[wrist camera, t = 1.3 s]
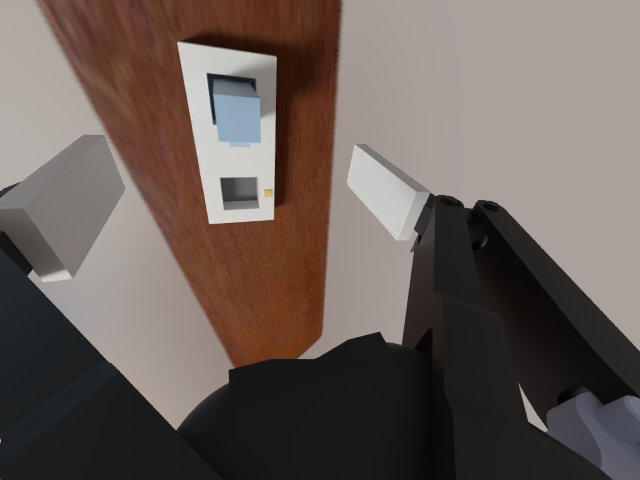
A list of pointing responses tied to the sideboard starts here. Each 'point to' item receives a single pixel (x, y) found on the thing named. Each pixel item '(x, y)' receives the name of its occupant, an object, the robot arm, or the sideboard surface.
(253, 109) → the plug
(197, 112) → the panel
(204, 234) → the sideboard surface
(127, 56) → the sideboard surface
